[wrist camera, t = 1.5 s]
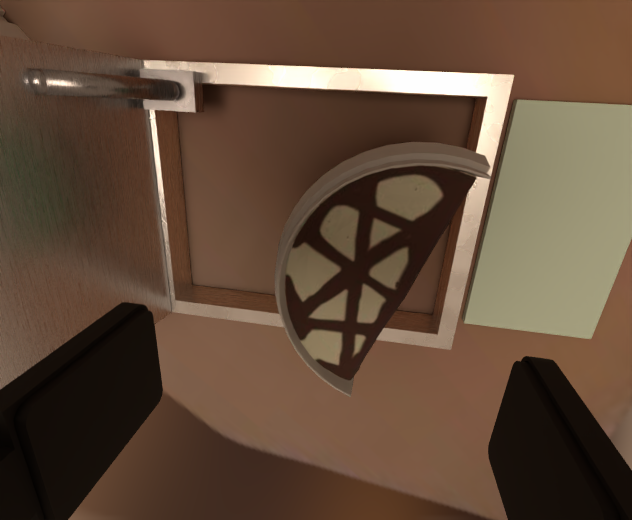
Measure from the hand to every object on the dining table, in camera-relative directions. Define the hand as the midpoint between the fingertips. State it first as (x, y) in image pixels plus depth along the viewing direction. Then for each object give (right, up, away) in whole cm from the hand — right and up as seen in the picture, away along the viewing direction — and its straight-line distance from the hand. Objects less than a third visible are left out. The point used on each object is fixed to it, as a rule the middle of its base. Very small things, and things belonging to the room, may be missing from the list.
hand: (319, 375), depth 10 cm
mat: (+14, +5, +13) cm, 20 cm away
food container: (+3, +6, +15) cm, 16 cm away
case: (-2, +7, +15) cm, 16 cm away
